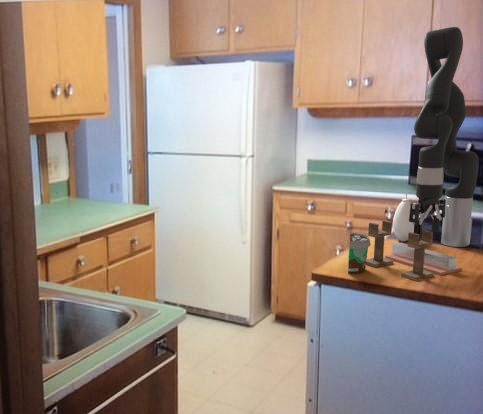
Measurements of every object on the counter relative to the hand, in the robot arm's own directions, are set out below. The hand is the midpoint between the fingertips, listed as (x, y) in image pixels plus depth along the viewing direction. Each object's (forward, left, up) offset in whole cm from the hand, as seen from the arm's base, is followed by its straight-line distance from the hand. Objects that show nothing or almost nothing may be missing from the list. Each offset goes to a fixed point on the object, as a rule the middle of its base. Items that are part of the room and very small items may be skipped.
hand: (426, 234), depth 167 cm
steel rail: (0, 0, -9) cm, 9 cm away
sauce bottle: (-18, -23, -10) cm, 31 cm away
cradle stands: (+12, 0, -10) cm, 15 cm away
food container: (+22, -6, -10) cm, 25 cm away
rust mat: (0, 0, -10) cm, 10 cm away
